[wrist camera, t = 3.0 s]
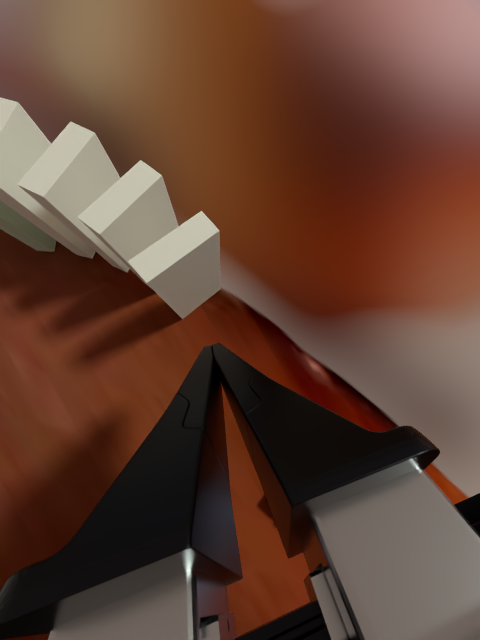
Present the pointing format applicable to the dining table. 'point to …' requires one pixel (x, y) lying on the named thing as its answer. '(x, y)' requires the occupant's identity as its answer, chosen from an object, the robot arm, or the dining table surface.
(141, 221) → the domino
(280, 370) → the dining table surface
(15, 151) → the domino
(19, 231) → the domino
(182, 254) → the domino
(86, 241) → the domino
